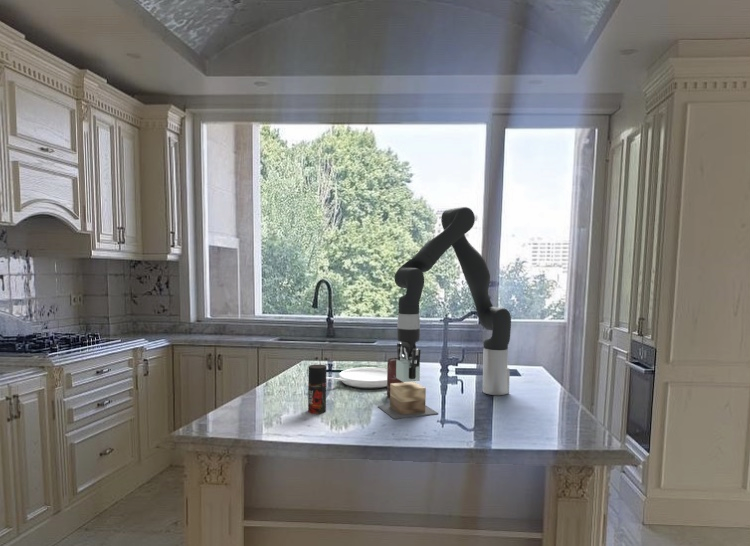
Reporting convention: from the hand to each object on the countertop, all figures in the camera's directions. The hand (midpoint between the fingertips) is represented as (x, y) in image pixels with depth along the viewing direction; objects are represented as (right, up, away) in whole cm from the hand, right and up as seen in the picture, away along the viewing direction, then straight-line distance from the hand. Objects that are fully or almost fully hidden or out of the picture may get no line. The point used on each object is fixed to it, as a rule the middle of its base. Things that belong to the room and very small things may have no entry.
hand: (407, 376), depth 161 cm
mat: (0, -12, 0) cm, 12 cm away
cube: (0, -1, 0) cm, 1 cm away
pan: (-19, -11, +34) cm, 40 cm away
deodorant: (-30, -11, -2) cm, 33 cm away
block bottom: (0, -11, 0) cm, 11 cm away
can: (-3, -11, +17) cm, 21 cm away
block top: (0, -7, 0) cm, 7 cm away
